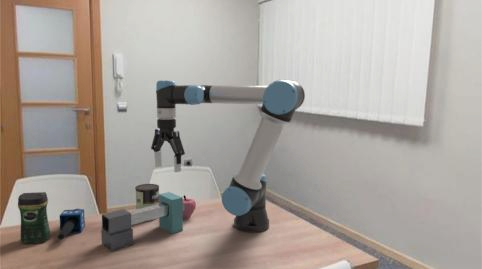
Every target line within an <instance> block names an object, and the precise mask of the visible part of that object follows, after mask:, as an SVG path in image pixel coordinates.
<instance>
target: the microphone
mask: <svg viewBox="0 0 482 269" xmlns="http://www.w3.org/2000/svg"><path fill="white" fill-rule="evenodd" d="M85 219H86V218H85V209H84V208H78V207H77V208H75V209H64V210H63V211H62V212H61V213H60V214H59V233H58V235H57V238H58V240H61V241H62V240H64V239H66V237H67V236H68V235H69V234H81V233H82V232H83V230H84V229H85V227H86V224H85V223H86V220H85Z"/></svg>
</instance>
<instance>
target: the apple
mask: <svg viewBox="0 0 482 269" xmlns="http://www.w3.org/2000/svg"><path fill="white" fill-rule="evenodd" d="M182 197H183V220H186V219H190V218H191V216H192V215H193V213H194V211H195V210H196V207H197V204H196V203H197V202H196V200H195V199H192V198H187V197H186V194H185V195H183V196H182Z"/></svg>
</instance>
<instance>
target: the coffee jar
mask: <svg viewBox="0 0 482 269" xmlns="http://www.w3.org/2000/svg"><path fill="white" fill-rule="evenodd" d="M48 204H49V198H48V195H47V193H46V191H43V192H42V191H39V192H23V193H21V194H20V195H19V196H18V200H17V208H18V209H19V213H20V235H19V236H20V237H19V238H20V243H21V244H24V245H27V244H28V245H29V244H30V245H31V244H32V245H33V244H40V243H41V244H42V243H44V242H46V241H48V240H49V239H50V237H51V230H50V225H49V219H48V212H47V210H48V209H47V206H48Z"/></svg>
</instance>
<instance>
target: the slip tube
mask: <svg viewBox="0 0 482 269" xmlns="http://www.w3.org/2000/svg"><path fill="white" fill-rule="evenodd" d="M127 211H128V210H127ZM128 212H130V213H131V226H133V225H137V224H141V223H143V222H149V221H148V220H151V221H153V220H152V219H155V218H157V219H159V217H163V216H166V215H169V204H166V203H161V204H157V205H153V206H149V207H144V208H140V209H136V208H135V209H133V210H129V211H128ZM155 220H156V219H155Z"/></svg>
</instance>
